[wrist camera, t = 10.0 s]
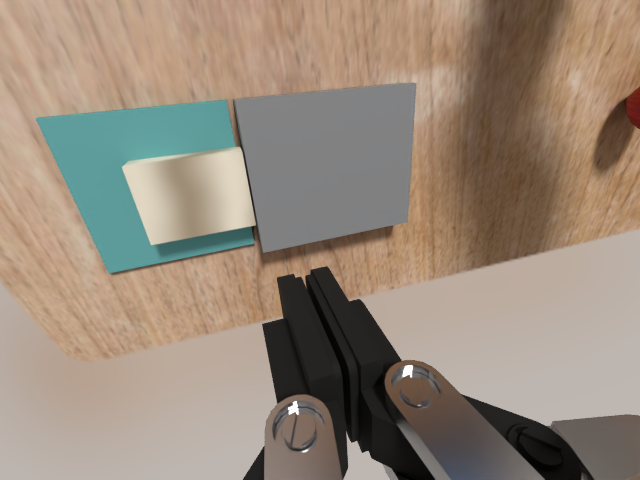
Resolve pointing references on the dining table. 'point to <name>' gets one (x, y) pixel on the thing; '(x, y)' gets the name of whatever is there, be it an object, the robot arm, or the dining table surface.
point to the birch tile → (191, 194)
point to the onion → (634, 108)
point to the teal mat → (110, 182)
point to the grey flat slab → (327, 161)
